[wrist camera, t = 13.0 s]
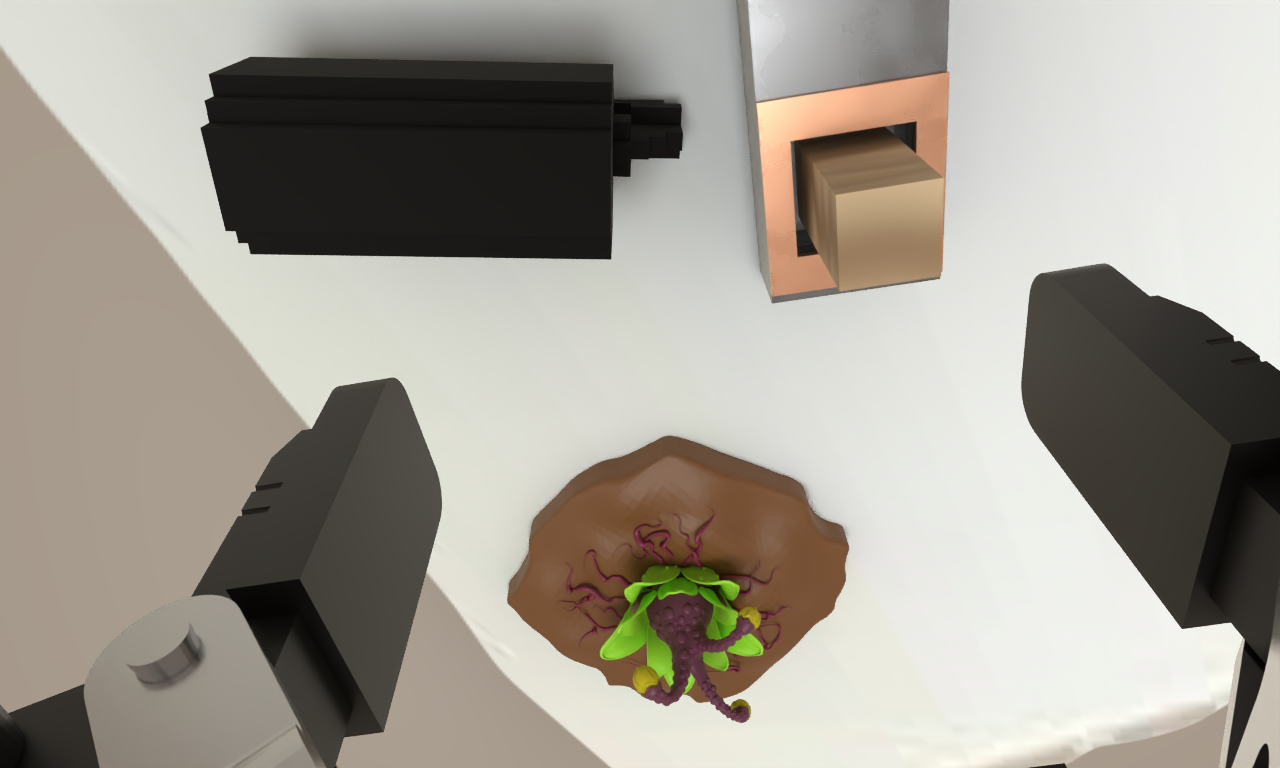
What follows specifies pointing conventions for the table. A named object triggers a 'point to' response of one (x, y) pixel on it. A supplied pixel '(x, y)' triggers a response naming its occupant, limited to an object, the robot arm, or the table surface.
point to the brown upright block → (870, 207)
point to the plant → (679, 572)
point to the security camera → (426, 156)
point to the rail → (834, 106)
